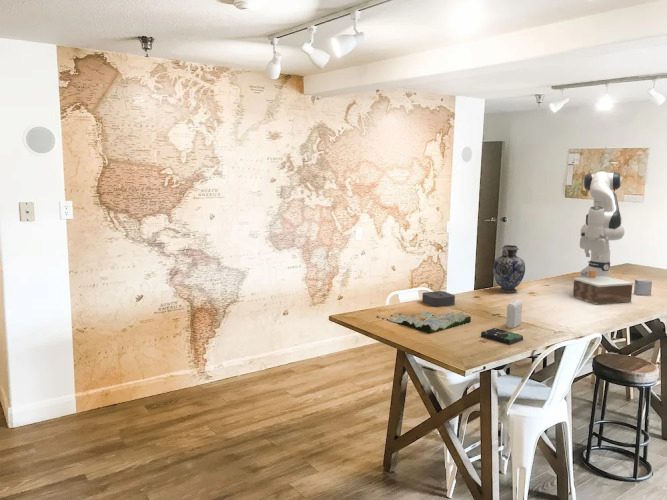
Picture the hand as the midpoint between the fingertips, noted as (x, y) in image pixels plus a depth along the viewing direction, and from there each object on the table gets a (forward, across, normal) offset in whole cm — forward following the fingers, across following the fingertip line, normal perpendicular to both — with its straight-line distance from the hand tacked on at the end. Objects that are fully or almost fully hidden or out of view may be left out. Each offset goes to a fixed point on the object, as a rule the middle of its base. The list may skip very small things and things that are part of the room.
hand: (593, 258), depth 307 cm
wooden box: (+23, -8, 0) cm, 24 cm away
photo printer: (+24, -42, +78) cm, 92 cm away
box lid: (+13, -8, 0) cm, 15 cm away
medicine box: (+23, -4, -32) cm, 40 cm away
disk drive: (+24, -58, +94) cm, 113 cm away
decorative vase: (+23, +24, +40) cm, 52 cm away
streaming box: (+24, +7, +94) cm, 97 cm away
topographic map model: (+24, -22, +116) cm, 120 cm away
